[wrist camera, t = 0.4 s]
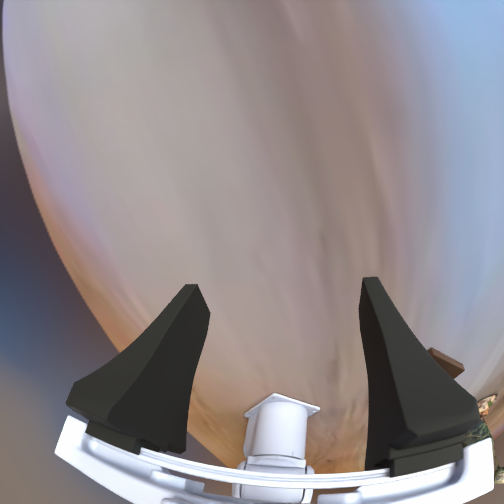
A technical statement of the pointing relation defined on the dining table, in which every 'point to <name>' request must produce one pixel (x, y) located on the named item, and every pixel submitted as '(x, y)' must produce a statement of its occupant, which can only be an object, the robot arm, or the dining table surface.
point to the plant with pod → (484, 434)
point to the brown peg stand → (447, 363)
